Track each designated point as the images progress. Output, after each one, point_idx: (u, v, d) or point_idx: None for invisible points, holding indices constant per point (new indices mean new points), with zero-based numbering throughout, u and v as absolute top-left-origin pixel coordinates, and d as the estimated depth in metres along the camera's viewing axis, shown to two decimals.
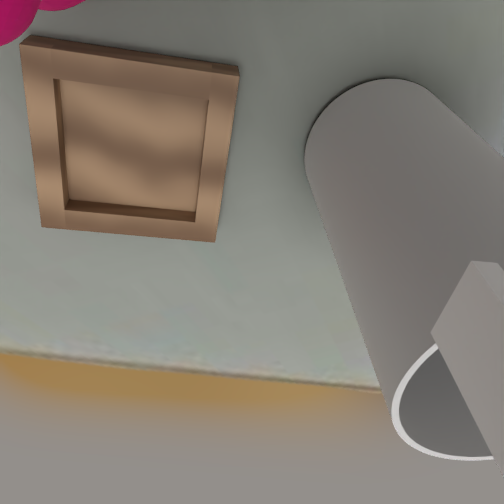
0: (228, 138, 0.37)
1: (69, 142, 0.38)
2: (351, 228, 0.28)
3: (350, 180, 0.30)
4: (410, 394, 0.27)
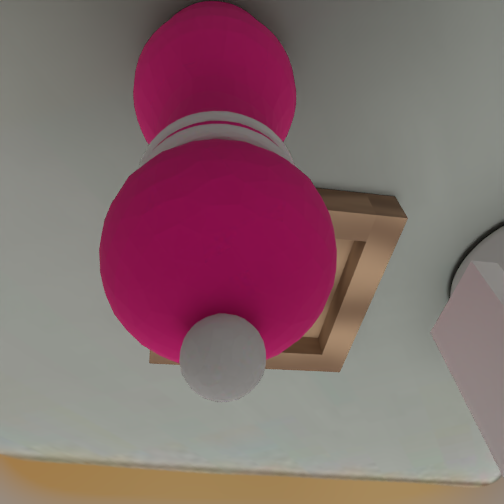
0: (379, 277, 0.31)
1: None
2: None
3: None
4: None
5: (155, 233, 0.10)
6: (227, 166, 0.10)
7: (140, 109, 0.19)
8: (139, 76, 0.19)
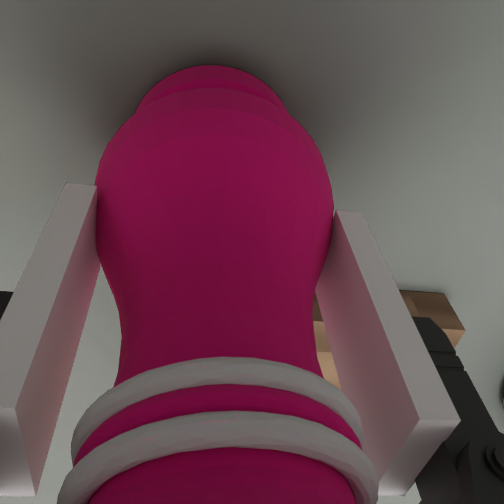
0: None
1: None
2: None
3: None
4: None
5: None
6: None
7: (99, 247, 0.12)
8: (97, 197, 0.12)
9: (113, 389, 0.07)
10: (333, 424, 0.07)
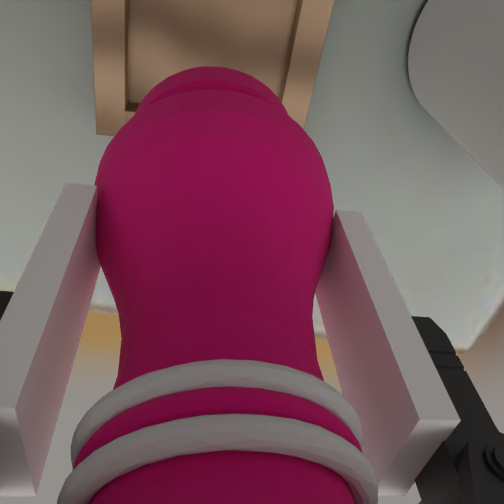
0: (328, 14, 0.30)
1: (133, 24, 0.31)
2: None
3: None
4: None
5: None
6: None
7: (99, 248, 0.12)
8: None
9: (113, 392, 0.07)
10: (333, 427, 0.07)
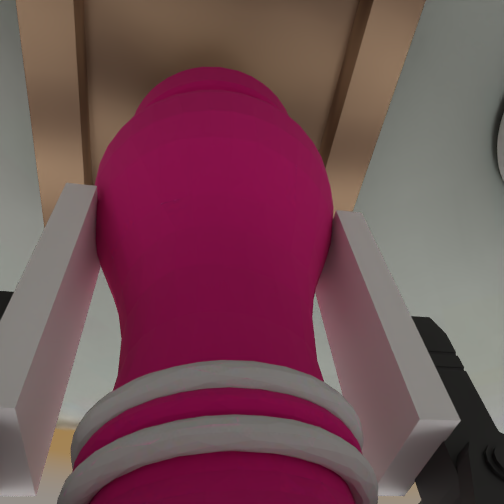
0: (394, 79, 0.20)
1: (96, 91, 0.21)
2: None
3: None
4: None
5: None
6: None
7: (98, 249, 0.12)
8: None
9: (113, 392, 0.07)
10: (333, 427, 0.07)
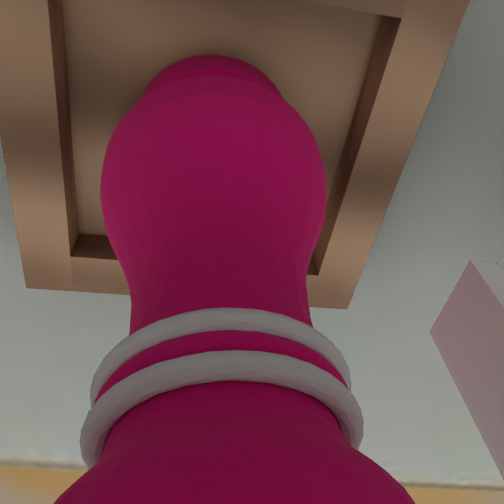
0: (421, 110, 0.17)
1: (80, 122, 0.18)
2: None
3: None
4: None
5: None
6: None
7: (108, 224, 0.13)
8: (106, 178, 0.13)
9: (128, 337, 0.08)
10: (322, 366, 0.08)
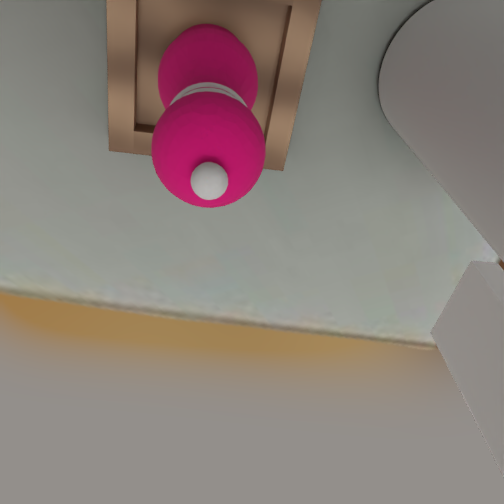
0: (308, 50, 0.36)
1: (142, 58, 0.37)
2: (464, 112, 0.27)
3: (454, 70, 0.29)
4: None
5: (180, 127, 0.22)
6: (211, 100, 0.23)
7: (163, 88, 0.32)
8: (162, 69, 0.32)
9: (179, 92, 0.26)
10: None
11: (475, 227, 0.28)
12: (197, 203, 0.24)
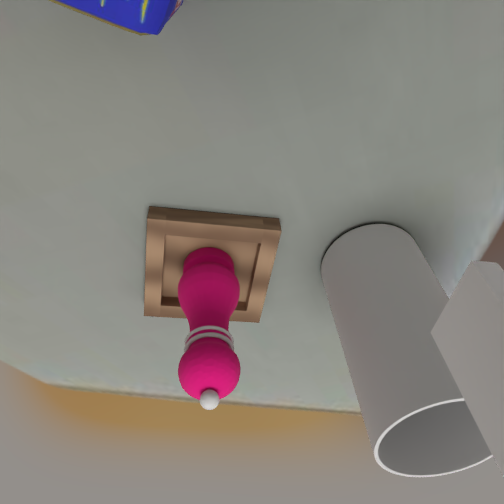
0: (272, 263, 0.56)
1: (166, 264, 0.57)
2: (352, 340, 0.47)
3: (351, 306, 0.49)
4: (387, 438, 0.46)
5: (194, 372, 0.43)
6: (210, 355, 0.43)
7: (181, 303, 0.52)
8: (181, 291, 0.52)
9: (192, 330, 0.47)
10: (225, 335, 0.47)
11: None
12: None
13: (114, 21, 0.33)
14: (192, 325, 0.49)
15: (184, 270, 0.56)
